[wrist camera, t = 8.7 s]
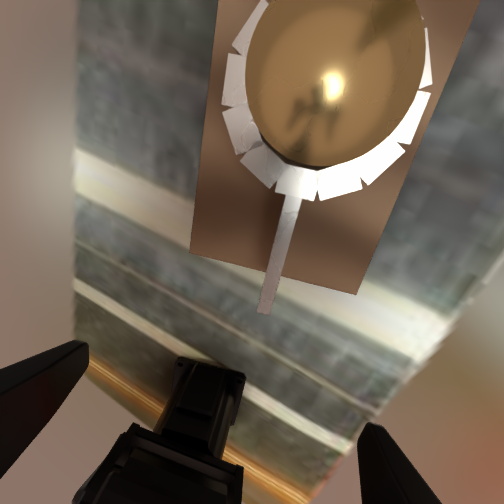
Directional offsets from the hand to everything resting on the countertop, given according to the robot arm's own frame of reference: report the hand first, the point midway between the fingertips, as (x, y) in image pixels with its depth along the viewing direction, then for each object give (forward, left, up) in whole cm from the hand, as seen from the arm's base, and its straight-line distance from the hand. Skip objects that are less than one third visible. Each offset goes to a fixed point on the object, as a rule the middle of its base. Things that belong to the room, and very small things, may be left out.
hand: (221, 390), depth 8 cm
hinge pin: (+9, -1, -11) cm, 14 cm away
